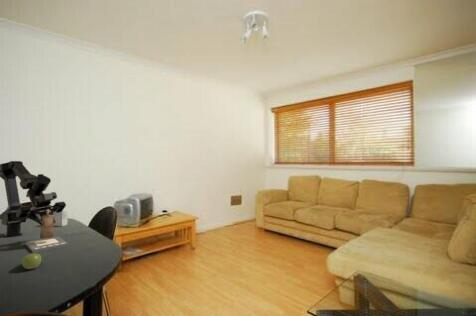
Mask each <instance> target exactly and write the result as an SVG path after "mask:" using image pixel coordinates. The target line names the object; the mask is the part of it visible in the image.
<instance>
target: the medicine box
mask: <svg viewBox="0 0 476 316" xmlns="http://www.w3.org/2000/svg"><path fill="white" fill-rule="evenodd" d="M67 225H68V210H63V211H62V212H59V213H56V222H55V223H54V224H53V227H64V226H67Z"/></svg>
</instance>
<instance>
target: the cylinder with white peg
mask: <svg viewBox="0 0 476 316" xmlns="http://www.w3.org/2000/svg"><path fill="white" fill-rule="evenodd" d="M45 213H46V214H44V215H40V217H41V219H42V221H43V225H40V234H39V235H40V238H39V239H40V240H41V239H47V238H53V237H54V226H53V224H54V215H49V213H50V212H49V209H47V210H46V211H45Z"/></svg>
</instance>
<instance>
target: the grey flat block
mask: <svg viewBox="0 0 476 316" xmlns="http://www.w3.org/2000/svg"><path fill="white" fill-rule="evenodd" d="M25 245H26V246H27V248H28V249H29V250H30V251H31V253H32V254H33V253H36V254H37V253H41V252H45V251H50V250H56V249H59V248H65V247H68V246H69V243H68V242H67V241H65V240H64V239H63V238H62V237H60V236H53V237H52V238H47V239H41V238H40V239H37V240H30V241H26V242H25Z"/></svg>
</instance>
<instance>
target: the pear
mask: <svg viewBox="0 0 476 316" xmlns="http://www.w3.org/2000/svg"><path fill="white" fill-rule="evenodd" d="M41 263H42V256H41V254H39V253H37V252H36V253H33V252H32V253H29V254H27V255H25V256H24V257H23V259H22V261H21V265H22V267H23V268H24V269H25V270H34V269H36V268H38V267H39V266H40V264H41Z"/></svg>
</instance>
